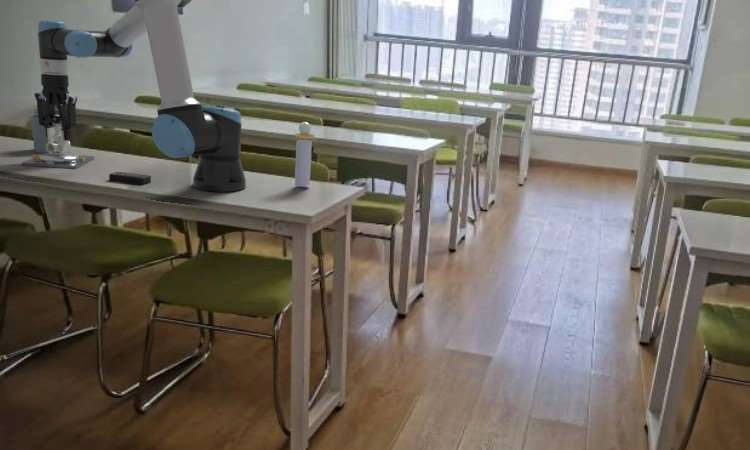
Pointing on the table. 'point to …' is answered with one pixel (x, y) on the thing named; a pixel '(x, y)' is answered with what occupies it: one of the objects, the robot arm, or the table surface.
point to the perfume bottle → (303, 156)
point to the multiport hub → (130, 178)
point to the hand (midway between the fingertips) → (58, 149)
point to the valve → (55, 135)
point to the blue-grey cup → (39, 134)
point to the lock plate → (58, 160)
